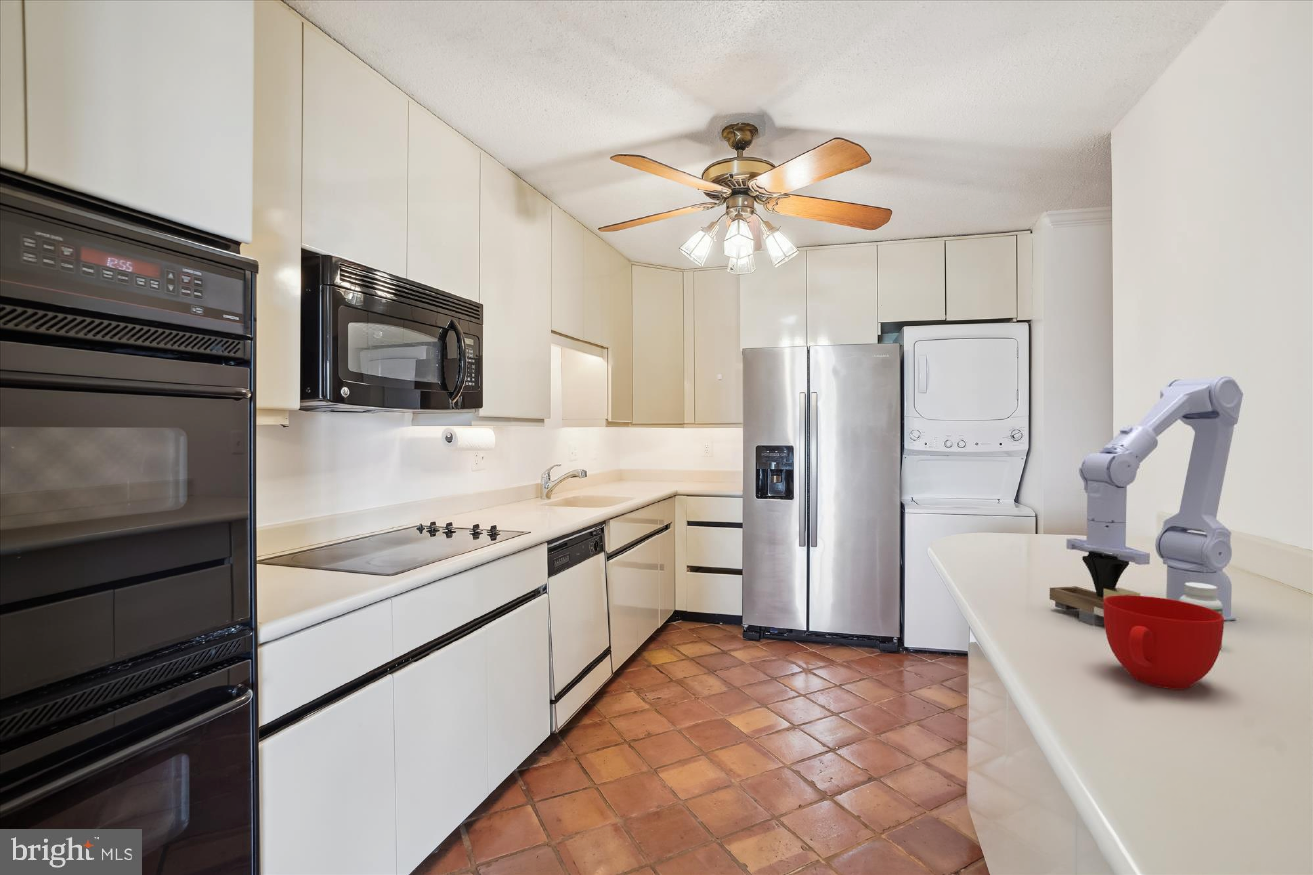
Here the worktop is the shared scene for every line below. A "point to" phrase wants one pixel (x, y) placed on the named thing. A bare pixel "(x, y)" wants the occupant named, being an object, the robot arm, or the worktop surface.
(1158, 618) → the ceramic cup
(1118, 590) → the tan wooden block
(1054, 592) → the beam
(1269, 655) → the worktop surface
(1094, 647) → the worktop surface
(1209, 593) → the supplement bottle
